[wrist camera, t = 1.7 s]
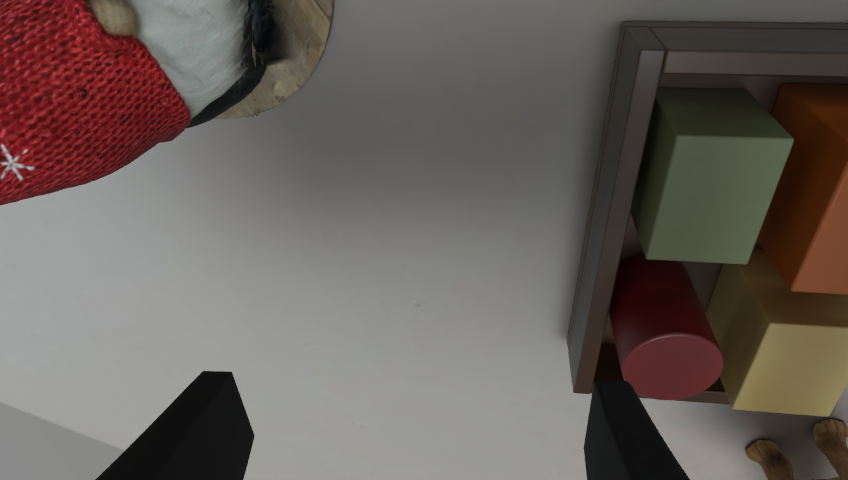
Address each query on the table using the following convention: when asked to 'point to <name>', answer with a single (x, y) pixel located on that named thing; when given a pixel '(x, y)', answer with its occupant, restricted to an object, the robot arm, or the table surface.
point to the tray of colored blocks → (720, 219)
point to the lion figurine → (827, 440)
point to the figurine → (137, 78)
